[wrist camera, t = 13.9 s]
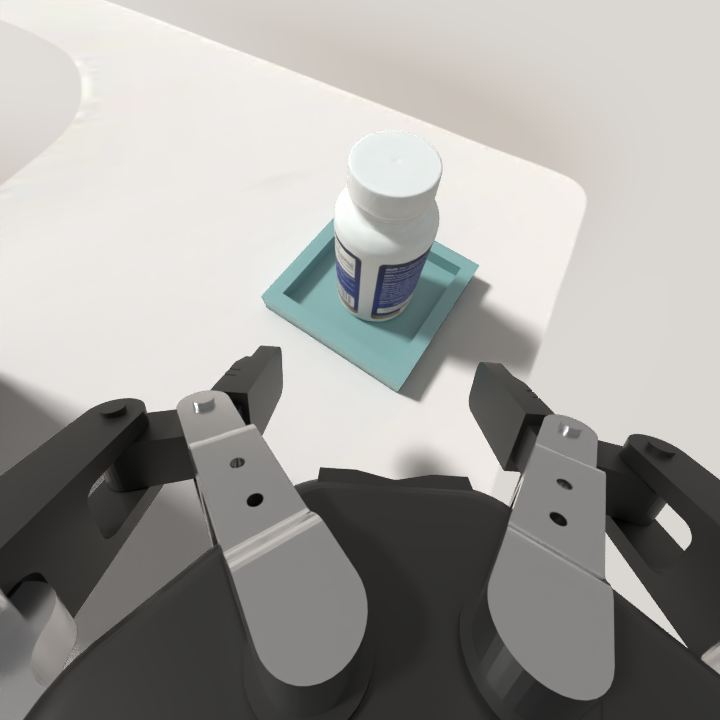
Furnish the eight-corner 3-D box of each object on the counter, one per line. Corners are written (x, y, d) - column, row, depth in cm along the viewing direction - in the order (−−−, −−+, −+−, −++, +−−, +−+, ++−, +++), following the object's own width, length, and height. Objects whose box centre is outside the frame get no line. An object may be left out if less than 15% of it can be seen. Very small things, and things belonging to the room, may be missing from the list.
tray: (267, 307, 21) (261, 296, 20) (353, 211, 24) (353, 196, 23) (396, 392, 20) (400, 387, 18) (471, 277, 23) (479, 265, 21)
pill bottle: (418, 270, 22) (469, 134, 13) (402, 332, 20) (448, 225, 11) (348, 252, 22) (351, 106, 13) (327, 312, 21) (313, 191, 12)
